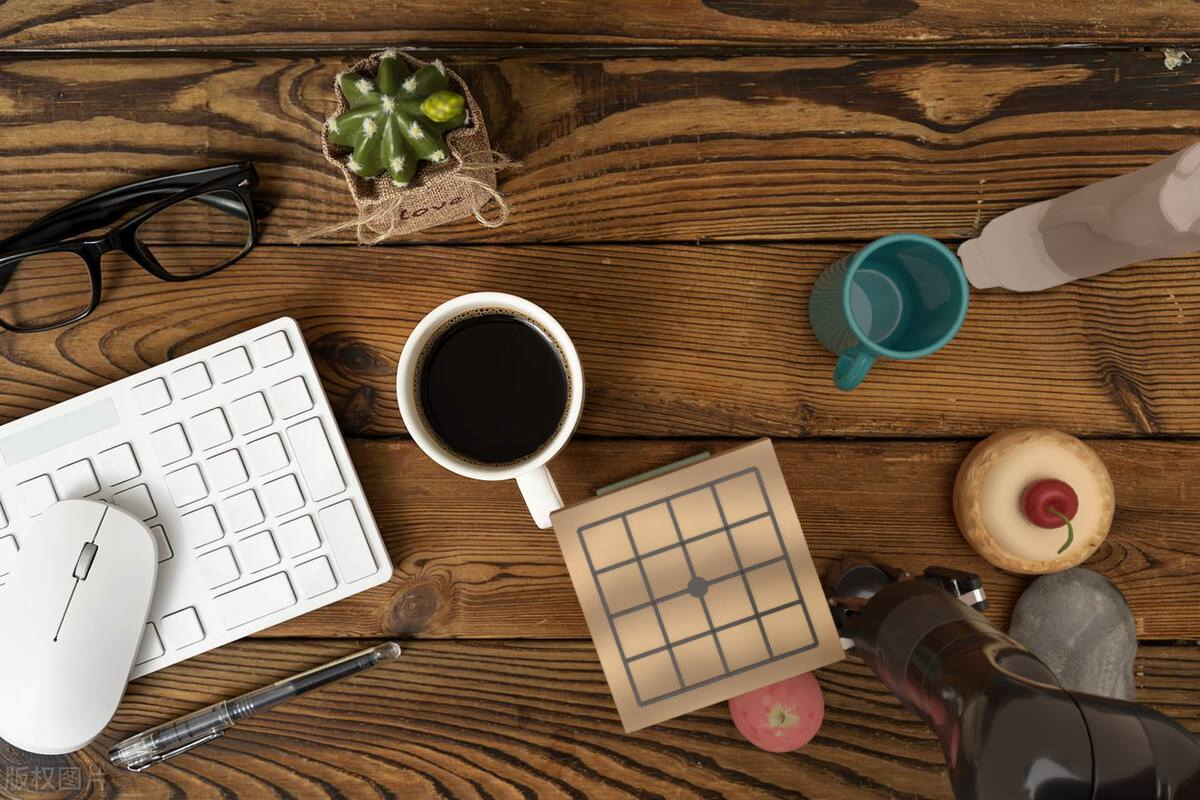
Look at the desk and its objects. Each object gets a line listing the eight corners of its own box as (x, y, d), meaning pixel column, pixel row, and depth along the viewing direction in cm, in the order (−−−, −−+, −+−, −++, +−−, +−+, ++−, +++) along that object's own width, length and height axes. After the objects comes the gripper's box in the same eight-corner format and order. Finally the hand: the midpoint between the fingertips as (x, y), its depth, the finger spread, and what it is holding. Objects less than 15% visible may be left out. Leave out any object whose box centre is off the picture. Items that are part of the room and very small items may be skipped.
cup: (773, 366, 72) (804, 365, 61) (834, 237, 72) (876, 211, 61) (870, 411, 72) (918, 418, 61) (931, 282, 72) (991, 264, 61)
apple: (756, 744, 73) (775, 789, 65) (706, 674, 73) (718, 711, 65) (827, 693, 73) (854, 732, 65) (776, 624, 73) (797, 654, 65)
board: (776, 575, 73) (847, 659, 51) (620, 629, 73) (626, 735, 51) (722, 420, 72) (770, 438, 51) (566, 474, 73) (548, 515, 51)
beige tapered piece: (949, 228, 72) (1081, 170, 52) (1109, 181, 72) (1304, 105, 52) (972, 310, 72) (1113, 284, 52) (1132, 264, 72) (1335, 220, 52)
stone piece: (890, 603, 73) (902, 612, 70) (836, 621, 73) (846, 632, 70) (871, 550, 73) (883, 557, 70) (818, 568, 73) (827, 576, 70)
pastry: (1062, 408, 72) (1126, 412, 63) (1098, 542, 72) (1167, 565, 63) (924, 446, 72) (969, 456, 63) (960, 580, 73) (1010, 608, 64)
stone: (1002, 559, 72) (990, 723, 75) (1019, 577, 68) (1006, 749, 71) (1140, 563, 71) (1123, 730, 73) (1165, 582, 67) (1147, 757, 69)
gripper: (847, 744, 55) (791, 657, 72) (1060, 671, 55) (952, 601, 72) (809, 634, 55) (761, 573, 72) (1022, 561, 55) (923, 517, 72)
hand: (857, 588), depth 72 cm, fingers closed on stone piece, 4 cm apart
